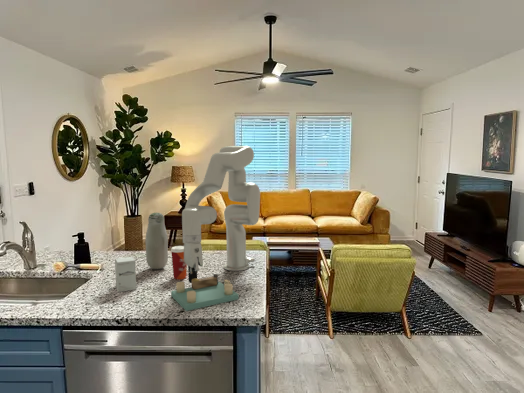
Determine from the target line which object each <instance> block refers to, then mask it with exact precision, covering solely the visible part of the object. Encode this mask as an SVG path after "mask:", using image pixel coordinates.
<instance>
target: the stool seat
mask: <svg viewBox="0 0 524 393" xmlns="http://www.w3.org/2000/svg"><path fill="white" fill-rule="evenodd" d="M223 281H224V283H222V281H218V284H217V285H214V286H209V287H204V288H199V289H193V288H192V286H191V287H190V286H189V287H185V285H186V283H185V282H184V281H177V282H176V284H175V286H176V289H175V290H171V291H170V294H171V297H172V298H173V299H174V300H175V301H176V302H177V303H178V305H180V307H182V309H183V310H184V311H186V312H189V311H192V310H196V309H200V308H201V309H202V308H205V307H209V306H214V305H220V304H223V303H228V302H232V301H237V300H239V293H237V292H236V291H234V290H233V289H234V287H233V283H231V281H230V280H229V279H223Z"/></svg>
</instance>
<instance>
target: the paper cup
mask: <svg viewBox="0 0 524 393" xmlns="http://www.w3.org/2000/svg"><path fill="white" fill-rule="evenodd" d="M170 252H171V262H172V271H173V272H172V273H173V279H174V280H184V279H186V278H187V272H188V266H187V264H186V263H185V262H184V245H175V246H173V247H171V249H170Z"/></svg>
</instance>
